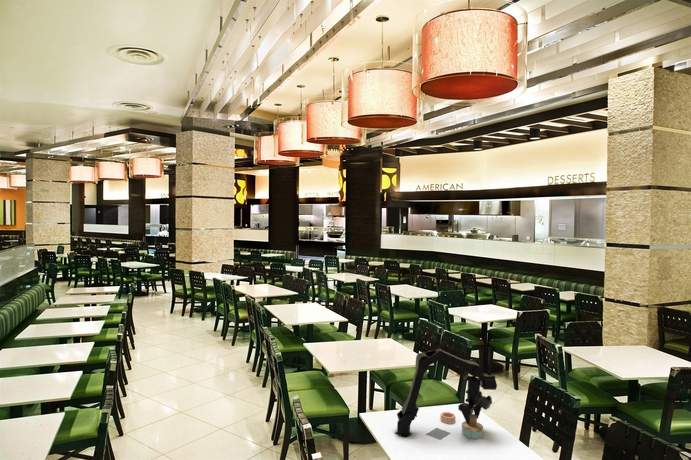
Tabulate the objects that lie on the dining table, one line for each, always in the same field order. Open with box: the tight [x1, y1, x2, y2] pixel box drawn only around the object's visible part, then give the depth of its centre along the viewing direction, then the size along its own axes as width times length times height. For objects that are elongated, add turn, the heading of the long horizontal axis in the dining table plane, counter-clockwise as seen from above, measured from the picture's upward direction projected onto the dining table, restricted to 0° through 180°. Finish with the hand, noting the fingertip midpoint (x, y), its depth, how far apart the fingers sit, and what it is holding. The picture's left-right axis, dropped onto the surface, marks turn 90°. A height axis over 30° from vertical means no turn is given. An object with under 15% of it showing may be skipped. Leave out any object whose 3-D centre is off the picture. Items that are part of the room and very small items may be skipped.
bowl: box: [461, 427, 484, 440], centre depth 223 cm, size 9×9×4 cm
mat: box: [425, 427, 452, 441], centre depth 223 cm, size 10×8×1 cm
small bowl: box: [439, 411, 456, 425], centre depth 237 cm, size 7×7×4 cm
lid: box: [461, 413, 484, 432], centre depth 222 cm, size 10×10×6 cm
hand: (472, 421), depth 222 cm, fingers open, 9 cm apart
